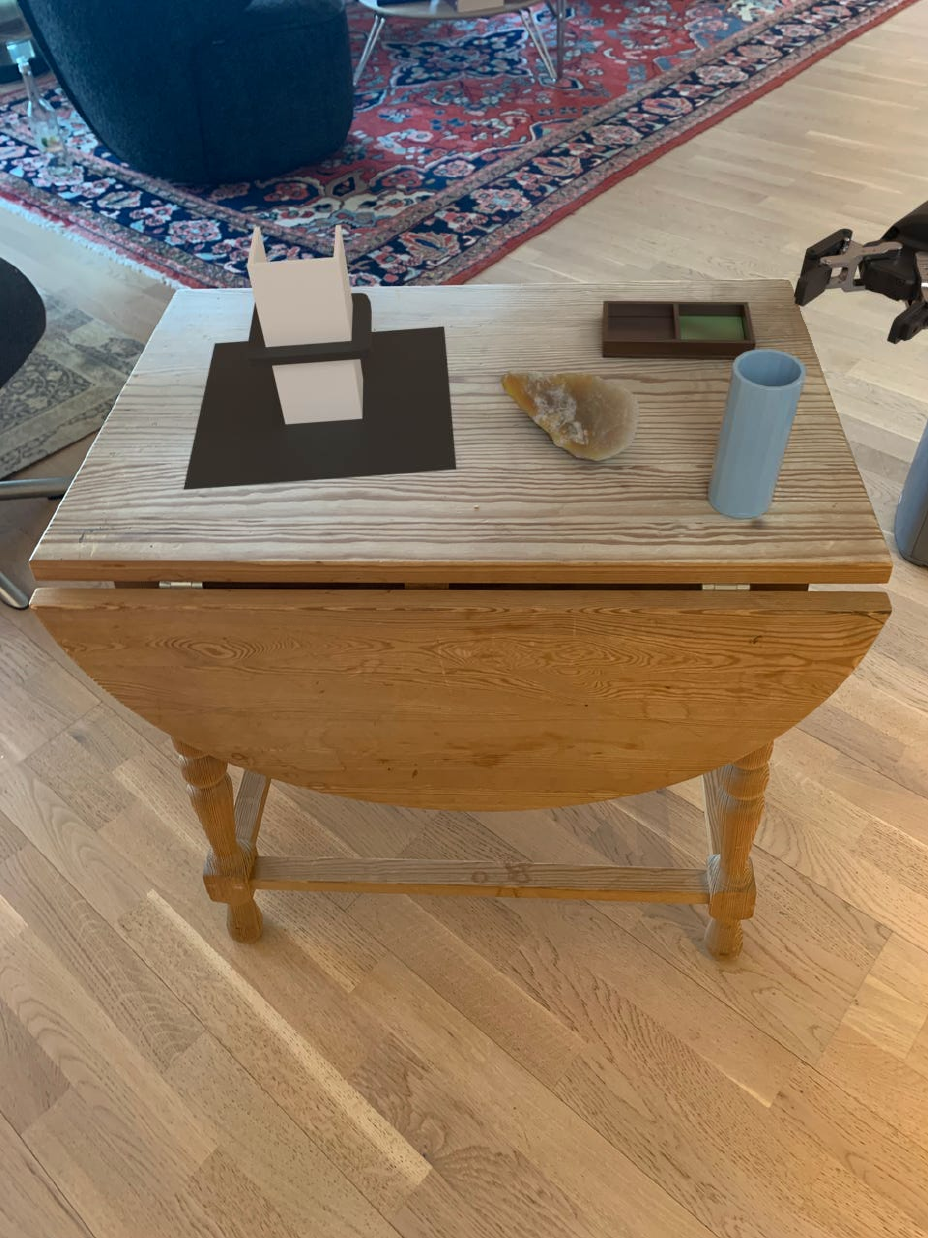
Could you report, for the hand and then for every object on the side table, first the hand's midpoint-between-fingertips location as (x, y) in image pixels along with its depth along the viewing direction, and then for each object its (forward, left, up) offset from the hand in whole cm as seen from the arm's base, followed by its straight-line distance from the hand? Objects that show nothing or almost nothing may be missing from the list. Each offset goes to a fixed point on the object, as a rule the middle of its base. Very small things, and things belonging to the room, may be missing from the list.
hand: (845, 313), depth 76 cm
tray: (+3, -20, -13) cm, 24 cm away
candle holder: (+40, -23, -13) cm, 48 cm away
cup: (+10, +5, -13) cm, 17 cm away
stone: (+20, -9, -13) cm, 26 cm away
